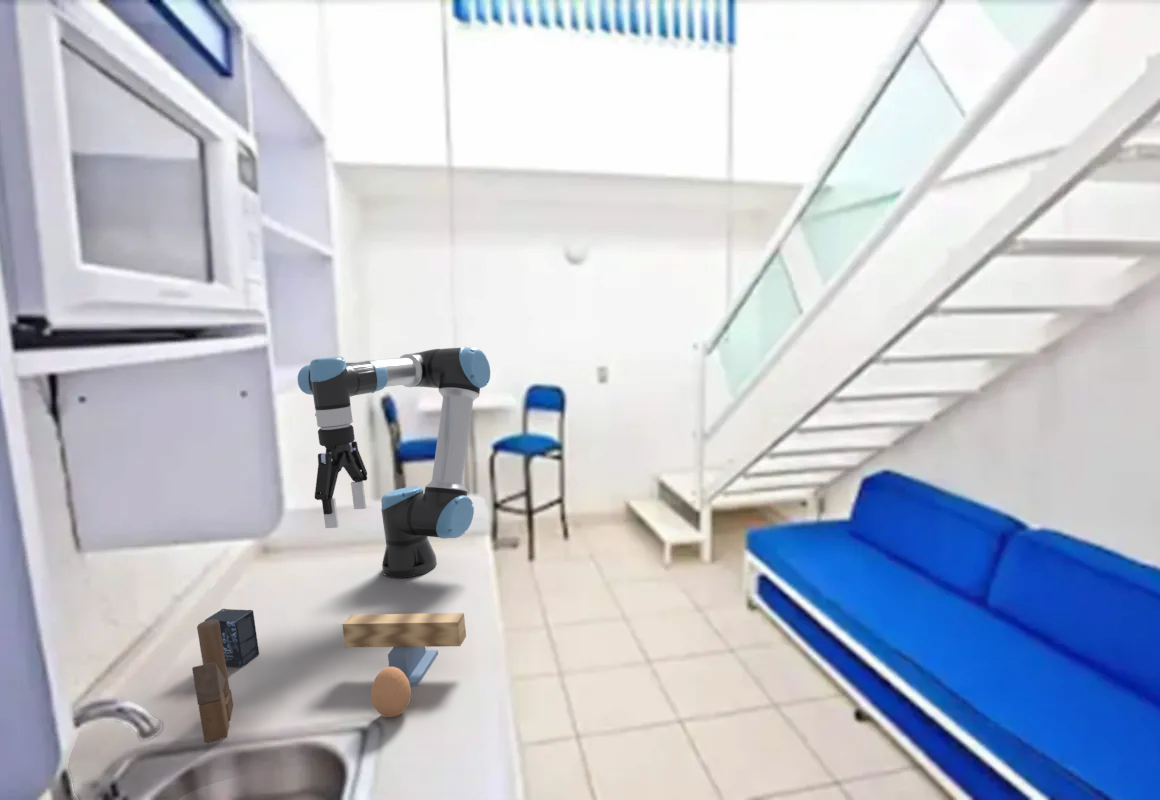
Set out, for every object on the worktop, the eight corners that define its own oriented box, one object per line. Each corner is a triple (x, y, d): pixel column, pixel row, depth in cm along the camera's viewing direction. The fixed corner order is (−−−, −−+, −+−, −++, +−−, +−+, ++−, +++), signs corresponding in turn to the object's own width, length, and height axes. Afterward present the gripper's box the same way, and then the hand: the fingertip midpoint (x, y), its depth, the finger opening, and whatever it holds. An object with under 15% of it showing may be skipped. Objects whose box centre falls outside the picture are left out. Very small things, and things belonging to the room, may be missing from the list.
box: (210, 666, 140) (203, 619, 139) (230, 652, 146) (223, 607, 145) (241, 668, 139) (234, 621, 137) (260, 654, 144) (253, 609, 143)
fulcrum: (401, 654, 139) (398, 627, 139) (438, 653, 138) (435, 627, 138) (378, 686, 128) (374, 657, 127) (417, 686, 127) (414, 656, 126)
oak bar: (345, 647, 132) (342, 623, 131) (354, 637, 136) (351, 614, 135) (460, 646, 129) (457, 622, 128) (466, 636, 133) (463, 612, 132)
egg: (367, 717, 118) (361, 670, 117) (399, 699, 123) (394, 654, 122) (387, 731, 113) (381, 683, 112) (420, 711, 118) (415, 665, 117)
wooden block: (204, 744, 113) (188, 646, 111) (212, 711, 123) (197, 621, 121) (227, 737, 115) (212, 641, 112) (234, 705, 125) (220, 616, 122)
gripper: (345, 417, 160) (356, 502, 162) (288, 438, 135) (302, 536, 138) (374, 416, 159) (384, 501, 161) (322, 436, 134) (335, 535, 137)
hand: (346, 517), depth 150 cm, fingers open, 13 cm apart
